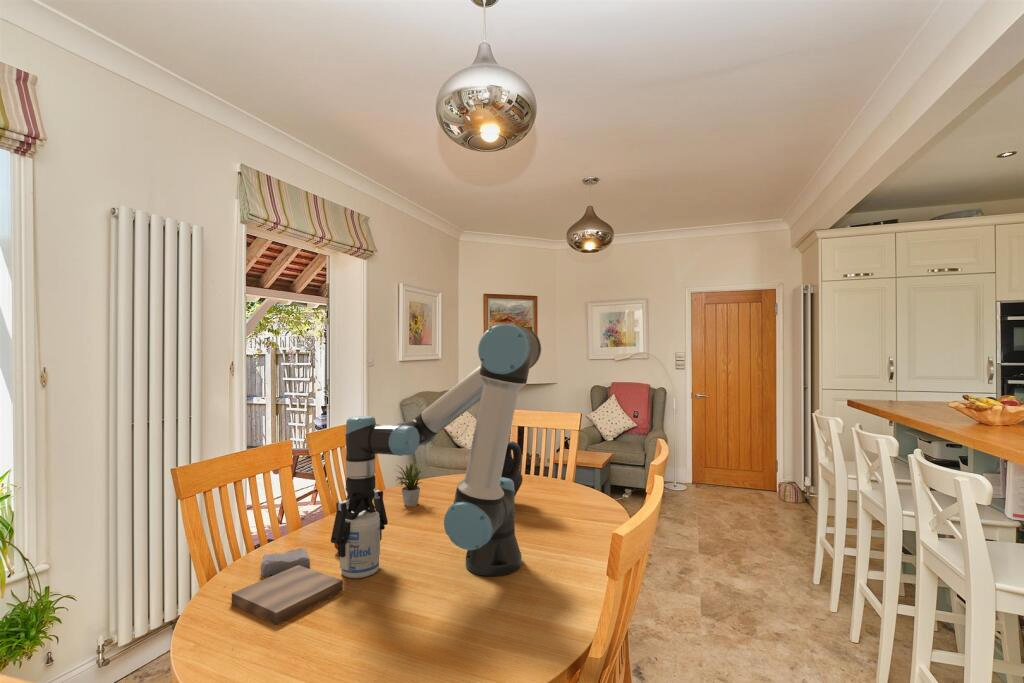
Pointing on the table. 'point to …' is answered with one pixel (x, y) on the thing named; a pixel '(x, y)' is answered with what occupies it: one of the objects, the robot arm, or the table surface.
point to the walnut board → (286, 593)
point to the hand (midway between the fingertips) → (360, 561)
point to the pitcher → (513, 465)
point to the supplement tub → (363, 545)
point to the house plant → (410, 485)
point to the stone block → (283, 561)
